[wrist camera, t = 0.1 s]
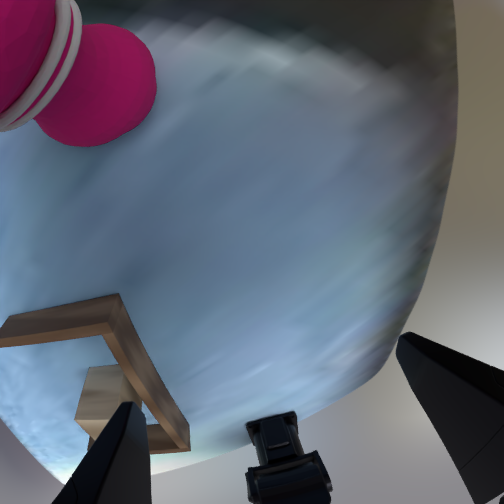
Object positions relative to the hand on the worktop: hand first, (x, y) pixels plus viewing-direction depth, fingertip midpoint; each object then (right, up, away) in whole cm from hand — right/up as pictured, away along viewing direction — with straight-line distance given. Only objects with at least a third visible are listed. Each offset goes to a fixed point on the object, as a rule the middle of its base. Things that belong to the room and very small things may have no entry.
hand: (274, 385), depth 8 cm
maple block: (-15, -9, +17) cm, 25 cm away
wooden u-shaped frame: (-17, -10, +17) cm, 26 cm away
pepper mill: (-10, +15, +8) cm, 20 cm away
